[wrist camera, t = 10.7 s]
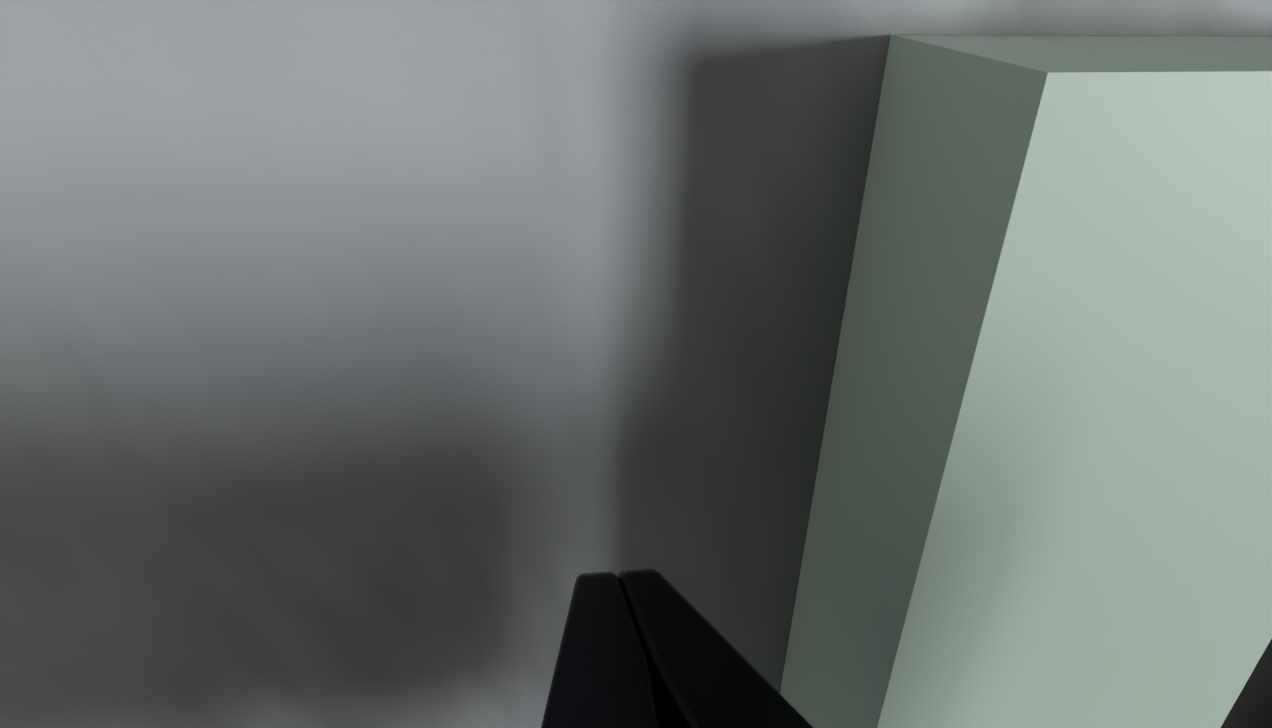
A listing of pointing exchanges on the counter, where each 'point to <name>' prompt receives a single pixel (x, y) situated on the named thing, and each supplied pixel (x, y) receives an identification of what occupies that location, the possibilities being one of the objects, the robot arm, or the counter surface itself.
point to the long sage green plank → (1049, 393)
